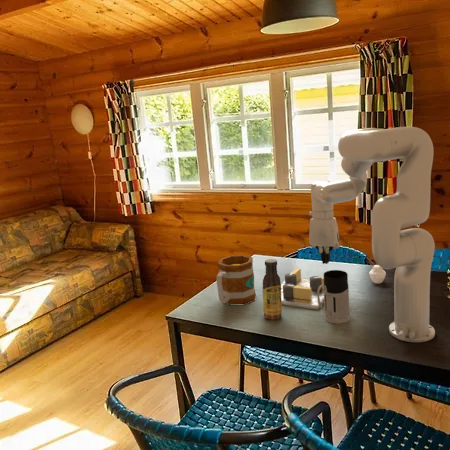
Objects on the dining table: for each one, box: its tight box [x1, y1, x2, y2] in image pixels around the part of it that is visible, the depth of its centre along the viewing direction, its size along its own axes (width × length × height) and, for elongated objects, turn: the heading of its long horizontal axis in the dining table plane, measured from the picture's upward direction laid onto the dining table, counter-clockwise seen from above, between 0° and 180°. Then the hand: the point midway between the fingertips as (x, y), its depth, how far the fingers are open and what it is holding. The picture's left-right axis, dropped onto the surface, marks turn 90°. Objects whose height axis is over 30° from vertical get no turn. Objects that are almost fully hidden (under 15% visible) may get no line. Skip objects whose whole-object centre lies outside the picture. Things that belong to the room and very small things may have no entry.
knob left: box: [284, 267, 302, 286], centre depth 176 cm, size 10×4×4 cm, turn 149°
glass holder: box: [317, 269, 352, 324], centre depth 145 cm, size 9×14×15 cm, turn 133°
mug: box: [216, 254, 256, 305], centre depth 167 cm, size 20×14×15 cm
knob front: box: [283, 284, 312, 300], centre depth 162 cm, size 10×4×4 cm, turn 59°
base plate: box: [281, 278, 324, 311], centre depth 169 cm, size 22×20×4 cm
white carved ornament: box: [368, 264, 387, 284], centre depth 173 cm, size 6×6×7 cm
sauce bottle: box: [262, 258, 283, 321], centre depth 150 cm, size 6×6×20 cm
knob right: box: [309, 275, 324, 291], centre depth 168 cm, size 10×4×4 cm, turn 87°
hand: (325, 262), depth 169 cm, fingers closed
